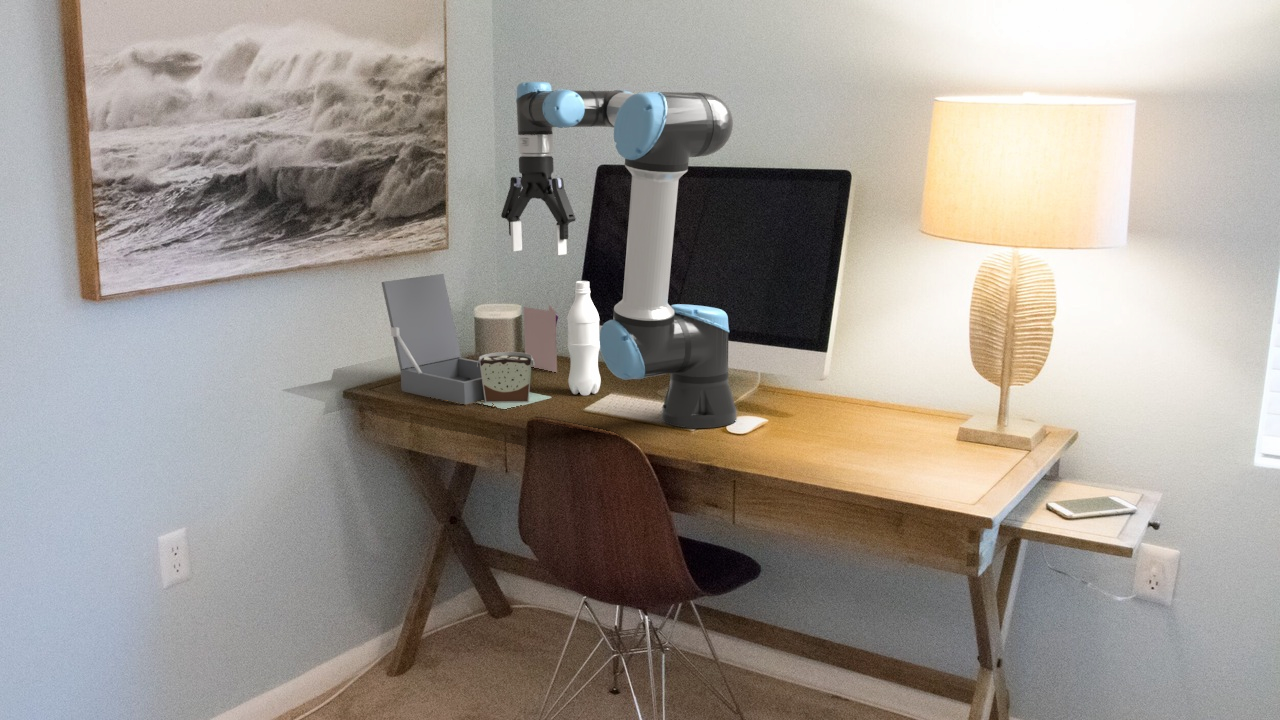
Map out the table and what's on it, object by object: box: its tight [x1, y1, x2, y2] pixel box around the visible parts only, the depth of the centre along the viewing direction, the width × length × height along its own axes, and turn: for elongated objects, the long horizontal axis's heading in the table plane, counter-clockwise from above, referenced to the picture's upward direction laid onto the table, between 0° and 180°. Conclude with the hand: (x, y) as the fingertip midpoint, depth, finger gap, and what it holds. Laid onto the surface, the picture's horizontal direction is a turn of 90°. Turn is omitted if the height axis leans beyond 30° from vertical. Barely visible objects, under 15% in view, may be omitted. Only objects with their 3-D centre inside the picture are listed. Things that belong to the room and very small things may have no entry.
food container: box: [477, 351, 535, 403], centre depth 245 cm, size 12×6×10 cm, turn 89°
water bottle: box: [566, 280, 602, 397], centre depth 250 cm, size 7×7×25 cm
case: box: [380, 273, 485, 404], centre depth 254 cm, size 27×17×25 cm, turn 49°
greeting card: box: [523, 304, 559, 374], centre depth 276 cm, size 11×7×15 cm, turn 12°
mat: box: [474, 391, 552, 410], centre depth 246 cm, size 9×14×1 cm, turn 139°
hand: (538, 252), depth 250 cm, fingers open, 13 cm apart
